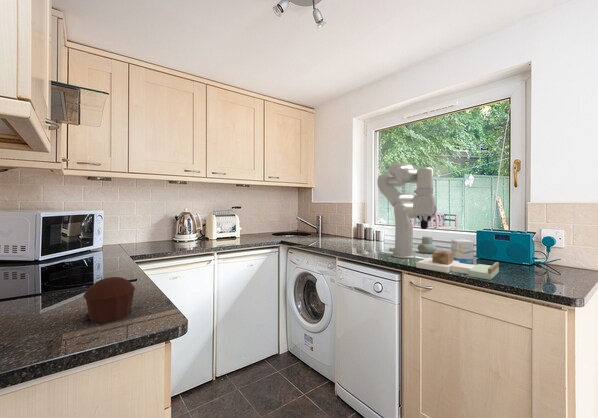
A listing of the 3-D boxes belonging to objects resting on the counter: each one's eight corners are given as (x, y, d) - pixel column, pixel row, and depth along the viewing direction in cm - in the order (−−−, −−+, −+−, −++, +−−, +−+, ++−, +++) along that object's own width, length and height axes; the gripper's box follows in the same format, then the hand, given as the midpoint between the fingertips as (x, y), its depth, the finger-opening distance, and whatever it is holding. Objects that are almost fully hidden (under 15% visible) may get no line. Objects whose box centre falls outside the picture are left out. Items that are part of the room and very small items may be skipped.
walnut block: (432, 262, 135) (432, 252, 135) (437, 260, 140) (437, 250, 140) (448, 264, 130) (448, 254, 130) (452, 262, 135) (452, 252, 135)
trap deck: (416, 267, 135) (416, 258, 134) (429, 261, 148) (429, 253, 147) (490, 279, 114) (490, 268, 114) (498, 272, 127) (498, 262, 127)
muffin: (108, 306, 81) (108, 272, 81) (144, 308, 80) (144, 273, 80) (71, 324, 69) (70, 284, 69) (113, 327, 68) (112, 286, 68)
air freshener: (439, 254, 171) (439, 237, 171) (428, 254, 168) (429, 238, 168) (425, 251, 182) (425, 235, 181) (415, 251, 179) (415, 236, 178)
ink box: (473, 264, 143) (474, 241, 143) (455, 263, 145) (456, 241, 145) (467, 260, 152) (467, 239, 151) (450, 260, 153) (450, 238, 153)
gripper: (406, 192, 143) (406, 228, 143) (438, 191, 132) (437, 230, 133) (412, 193, 148) (412, 227, 148) (443, 192, 138) (442, 229, 138)
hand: (424, 228), depth 140 cm, fingers closed
